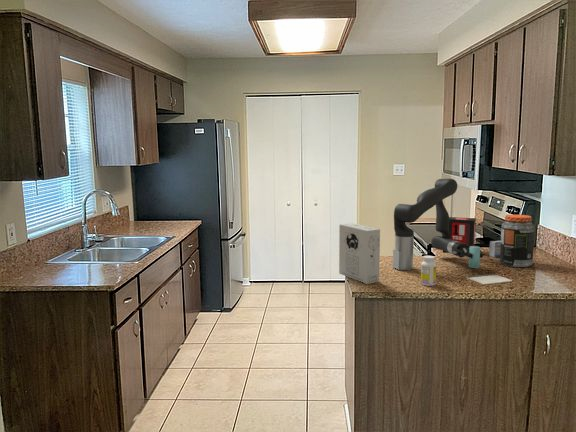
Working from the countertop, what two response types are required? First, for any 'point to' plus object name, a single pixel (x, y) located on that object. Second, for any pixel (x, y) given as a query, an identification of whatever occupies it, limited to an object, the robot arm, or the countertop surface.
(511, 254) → the supplement tub
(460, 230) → the cleaning product box
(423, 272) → the supplement bottle
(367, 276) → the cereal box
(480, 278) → the mat
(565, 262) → the countertop surface
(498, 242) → the medicine box
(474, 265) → the teal wooden pin
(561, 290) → the countertop surface
